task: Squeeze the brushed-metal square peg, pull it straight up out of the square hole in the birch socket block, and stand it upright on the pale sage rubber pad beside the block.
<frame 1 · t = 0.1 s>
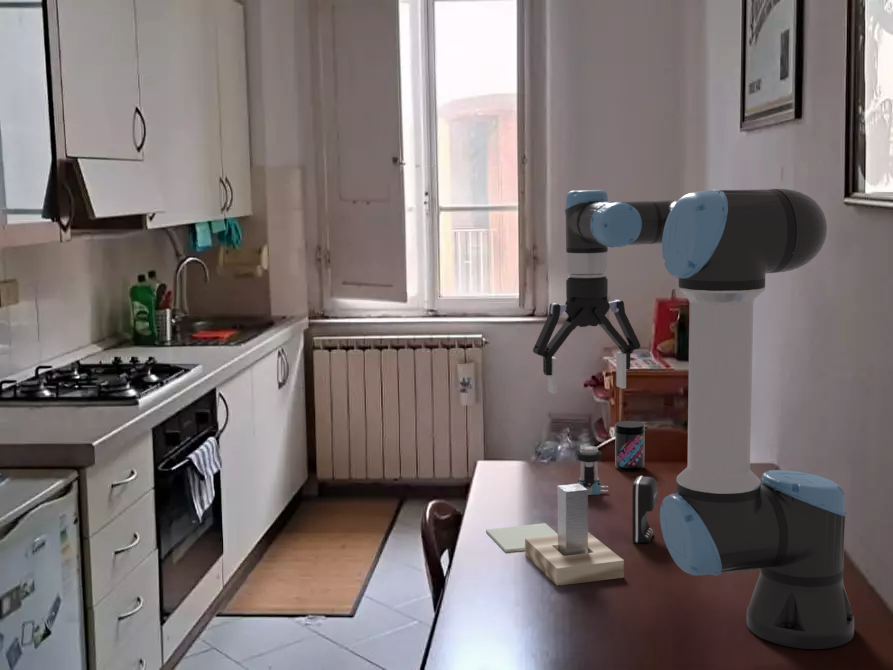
hand: (587, 390, 199), 28 cm above the table, fingers open, 13 cm apart
socket block: (572, 565, 187), on the table
supplement container: (629, 468, 249), on the table
dark grey upright piece: (645, 539, 201), on the table
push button: (592, 494, 230), on the table
peg: (572, 526, 186), in the socket block
pad: (526, 538, 202), on the table
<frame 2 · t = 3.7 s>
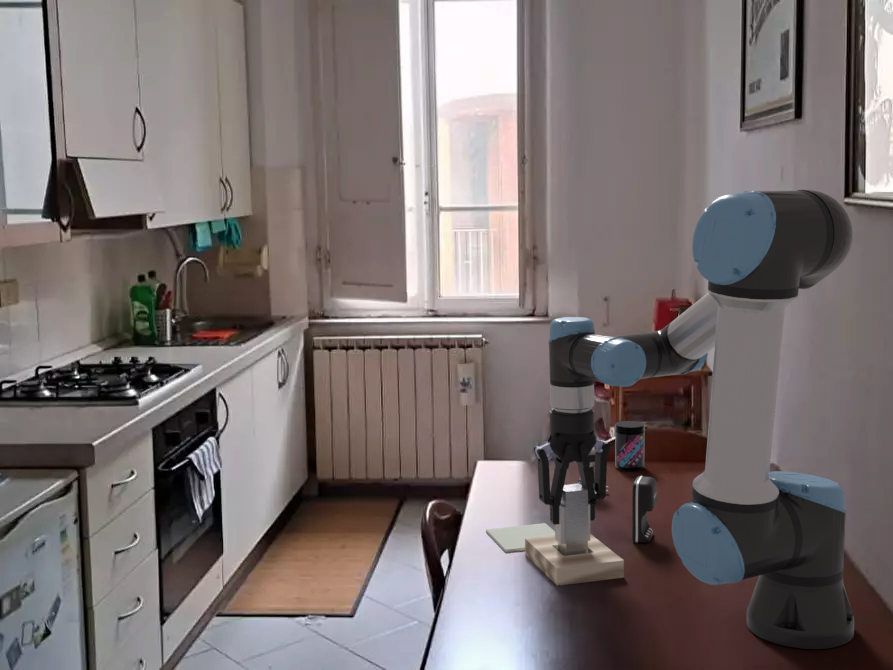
hand: (572, 539, 187), 5 cm above the table, fingers closed on peg, 4 cm apart
peg: (572, 526, 186), in the socket block, touching gripper
everything else where it was.
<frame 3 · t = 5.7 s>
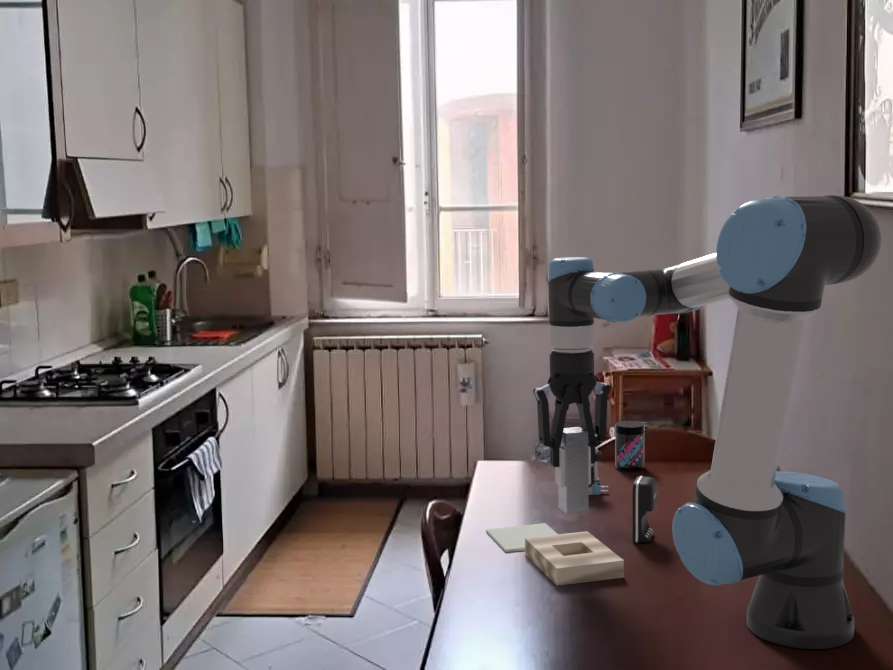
hand: (573, 483, 185), 15 cm above the table, fingers closed on peg, 4 cm apart
peg: (572, 470, 185), point 17 cm above the table, touching gripper
everything else where it was.
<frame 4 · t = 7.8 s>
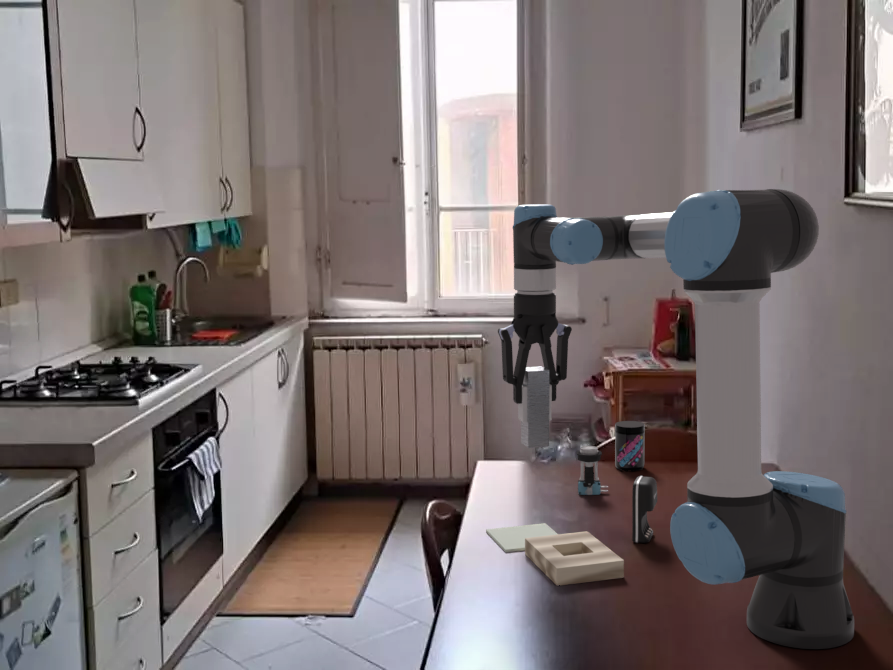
hand: (534, 419, 195), 24 cm above the table, fingers closed on peg, 4 cm apart
peg: (534, 406, 195), point 26 cm above the table, touching gripper
everything else where it was.
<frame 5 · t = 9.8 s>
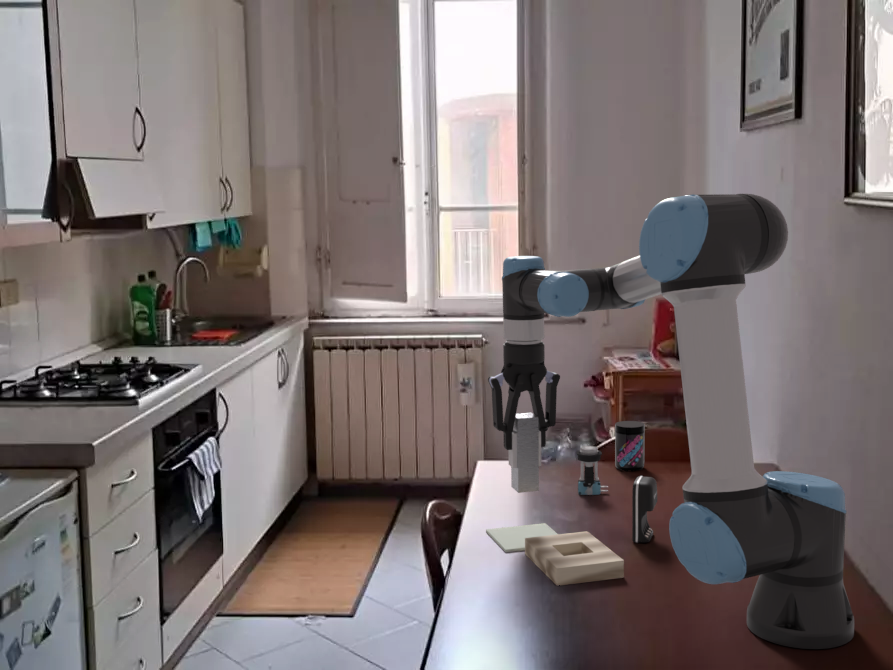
hand: (524, 464, 200), 14 cm above the table, fingers closed on peg, 4 cm apart
peg: (524, 452, 200), point 17 cm above the table, touching gripper
everything else where it was.
when the fingers open (7 cm above the table, at t = 11.8 s): peg drops 1 cm, resting on pad.
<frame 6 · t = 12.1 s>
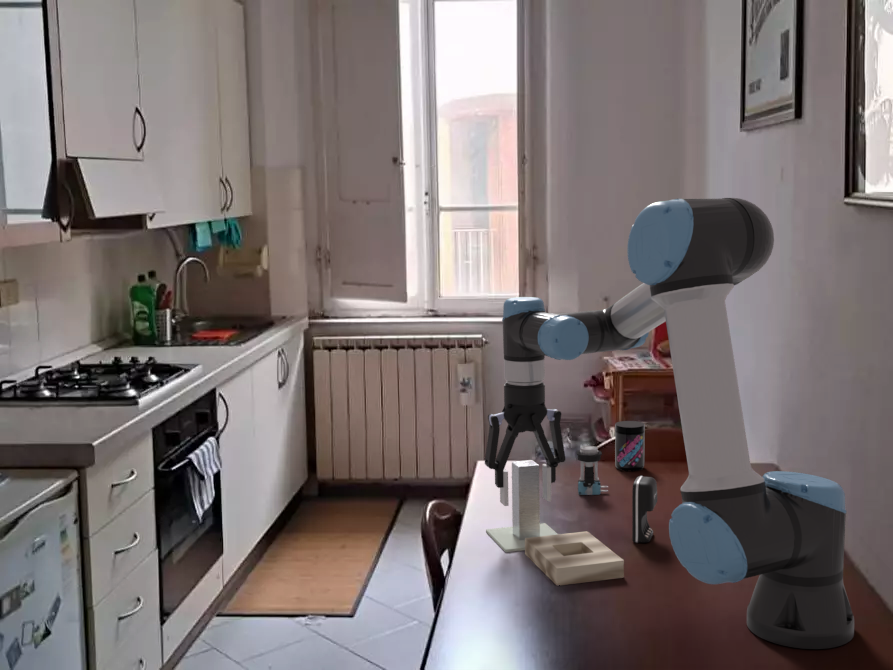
hand: (525, 501, 201), 7 cm above the table, fingers open, 8 cm apart
peg: (525, 499, 201), on the pad
everything else where it was.
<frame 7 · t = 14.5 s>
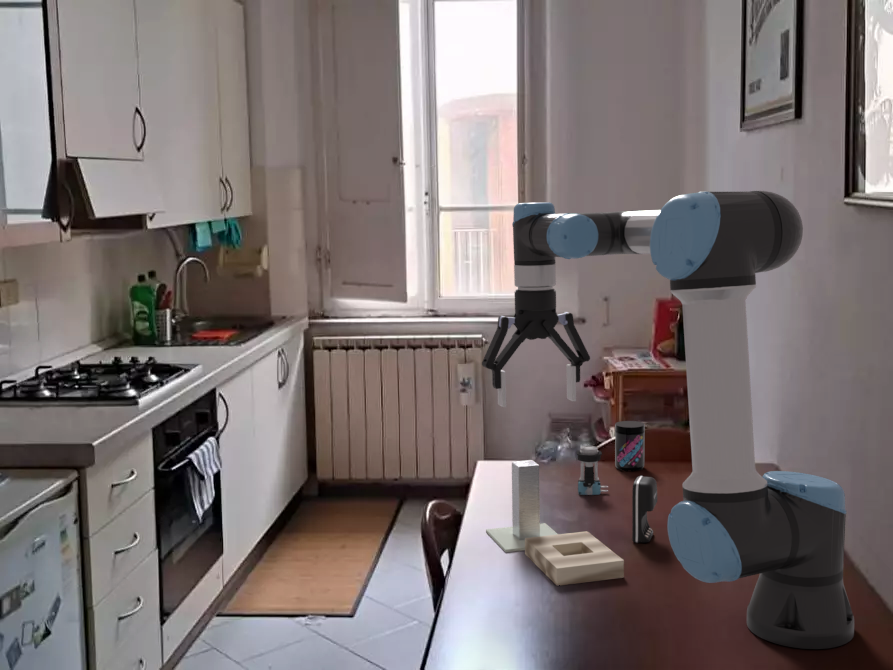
hand: (537, 403, 198), 26 cm above the table, fingers open, 13 cm apart
nothing on the table moved.
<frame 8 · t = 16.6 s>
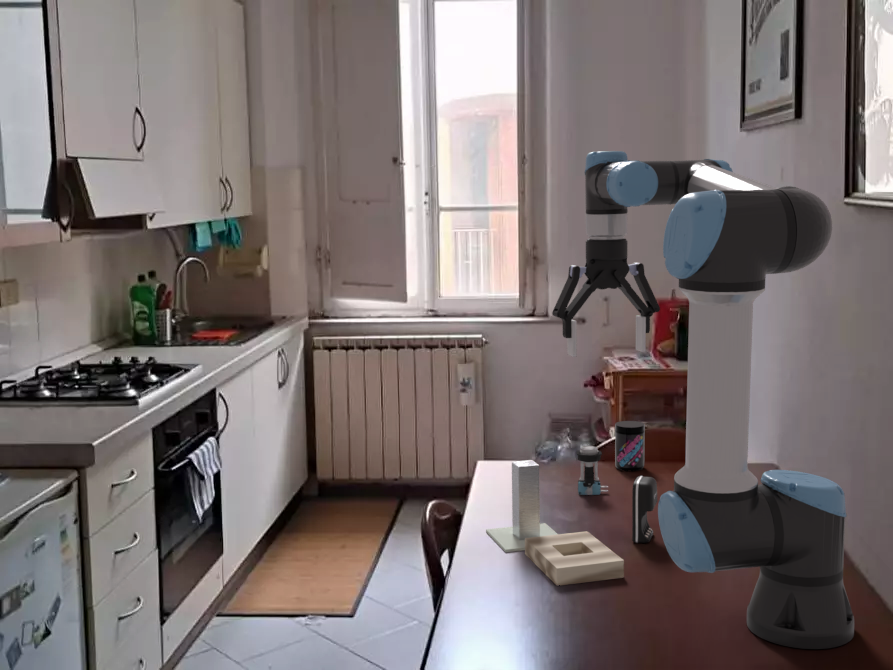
hand: (606, 353, 198), 35 cm above the table, fingers open, 13 cm apart
nothing on the table moved.
at the end: peg inside the target area on the pad (0.0 cm from its centre), point 7.5 cm above the pad's base; peg tilted 0°; the gripper is holding nothing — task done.
